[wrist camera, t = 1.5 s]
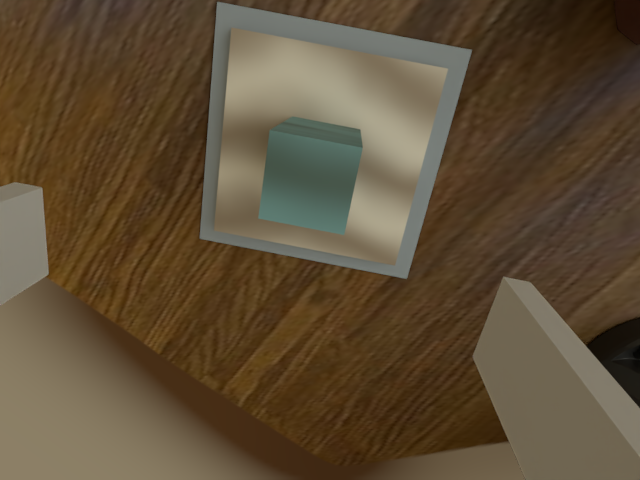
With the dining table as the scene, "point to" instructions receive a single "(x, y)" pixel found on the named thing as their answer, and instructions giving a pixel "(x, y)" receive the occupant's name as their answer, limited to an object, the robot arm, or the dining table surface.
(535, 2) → the dining table surface
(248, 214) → the lid
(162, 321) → the dining table surface
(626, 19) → the ice cream bowl
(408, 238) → the mat
